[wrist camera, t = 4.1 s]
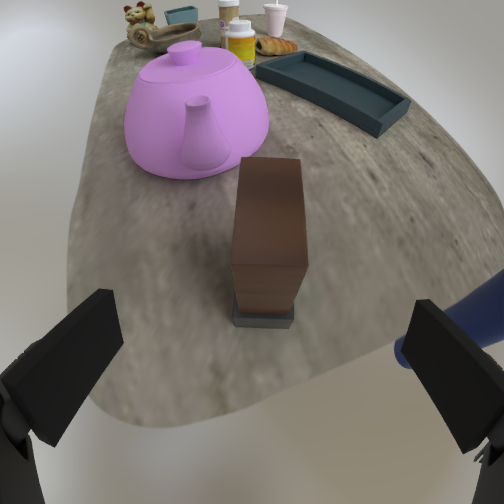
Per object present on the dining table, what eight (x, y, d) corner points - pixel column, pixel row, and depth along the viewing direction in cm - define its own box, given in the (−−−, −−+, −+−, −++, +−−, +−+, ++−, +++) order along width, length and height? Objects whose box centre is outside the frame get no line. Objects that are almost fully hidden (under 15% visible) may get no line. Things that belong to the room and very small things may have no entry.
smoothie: (289, 34, 58) (292, -8, 45) (281, 39, 55) (283, -7, 43) (268, 31, 59) (269, -10, 47) (258, 36, 56) (259, -9, 44)
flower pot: (170, 40, 57) (166, 14, 49) (167, 35, 61) (163, 11, 53) (200, 34, 59) (198, 8, 51) (195, 29, 63) (192, 5, 55)
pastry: (289, 46, 52) (290, 33, 48) (302, 55, 49) (304, 41, 45) (252, 49, 50) (252, 35, 47) (262, 58, 47) (263, 43, 44)
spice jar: (216, 48, 51) (213, -1, 39) (228, 43, 53) (226, -3, 41) (232, 50, 50) (230, 0, 38) (243, 45, 52) (243, -3, 40)
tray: (406, 112, 39) (411, 100, 36) (377, 138, 34) (382, 123, 32) (302, 61, 47) (303, 50, 44) (256, 77, 42) (256, 64, 40)
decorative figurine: (126, 49, 57) (117, 8, 44) (133, 41, 61) (125, 4, 48) (157, 41, 58) (150, -1, 45) (162, 35, 62) (156, -4, 48)
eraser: (288, 328, 22) (317, 275, 12) (235, 326, 22) (220, 272, 12) (288, 243, 26) (306, 155, 16) (241, 242, 26) (234, 151, 16)
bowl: (208, 50, 50) (205, 14, 42) (134, 69, 48) (125, 33, 39) (197, 38, 57) (194, 7, 48) (134, 54, 54) (127, 24, 45)
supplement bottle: (260, 69, 44) (260, 22, 35) (233, 74, 43) (231, 26, 34) (247, 60, 47) (247, 17, 38) (222, 65, 45) (219, 21, 36)
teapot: (135, 114, 37) (114, 42, 25) (242, 90, 40) (240, 16, 28) (135, 244, 26) (72, 139, 14) (305, 202, 28) (330, 85, 16)
